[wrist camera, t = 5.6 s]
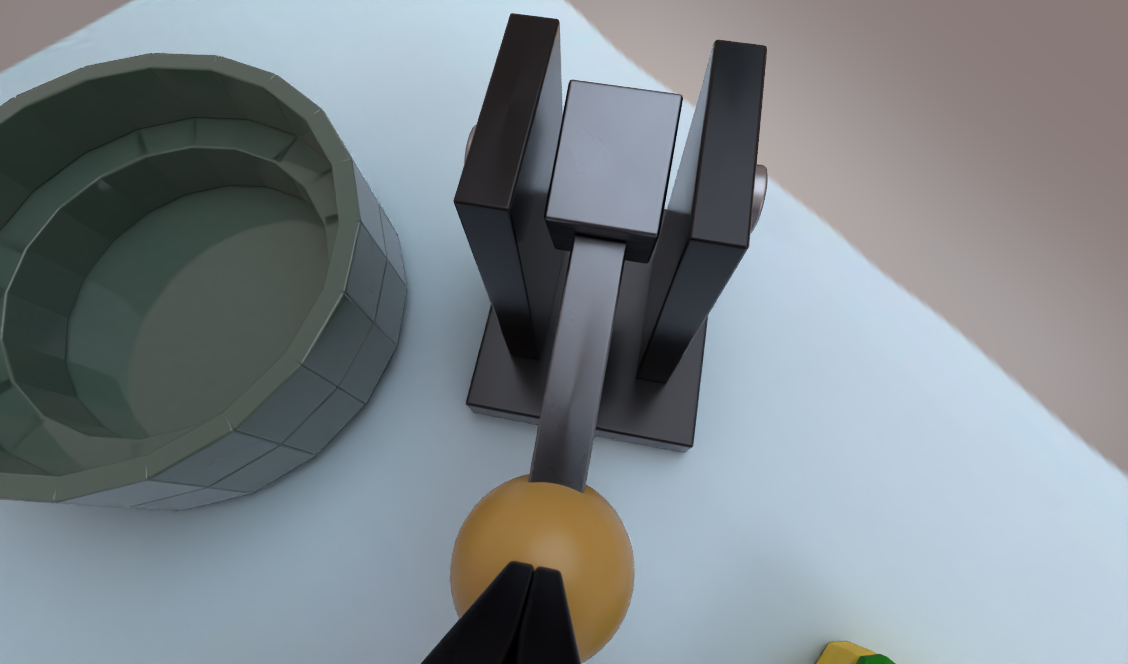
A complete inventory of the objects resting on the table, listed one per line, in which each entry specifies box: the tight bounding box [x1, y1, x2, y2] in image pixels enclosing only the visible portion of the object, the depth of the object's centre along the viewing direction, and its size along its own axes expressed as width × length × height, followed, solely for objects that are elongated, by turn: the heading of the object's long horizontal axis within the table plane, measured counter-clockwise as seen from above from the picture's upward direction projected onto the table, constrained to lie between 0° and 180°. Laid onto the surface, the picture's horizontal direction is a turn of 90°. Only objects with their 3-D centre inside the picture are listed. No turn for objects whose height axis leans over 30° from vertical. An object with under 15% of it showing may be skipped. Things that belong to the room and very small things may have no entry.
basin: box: [0, 53, 407, 511], centre depth 17 cm, size 13×13×5 cm
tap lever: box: [450, 80, 683, 663], centre depth 11 cm, size 11×4×4 cm, turn 169°
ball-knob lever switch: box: [454, 13, 767, 453], centre depth 15 cm, size 8×7×10 cm
